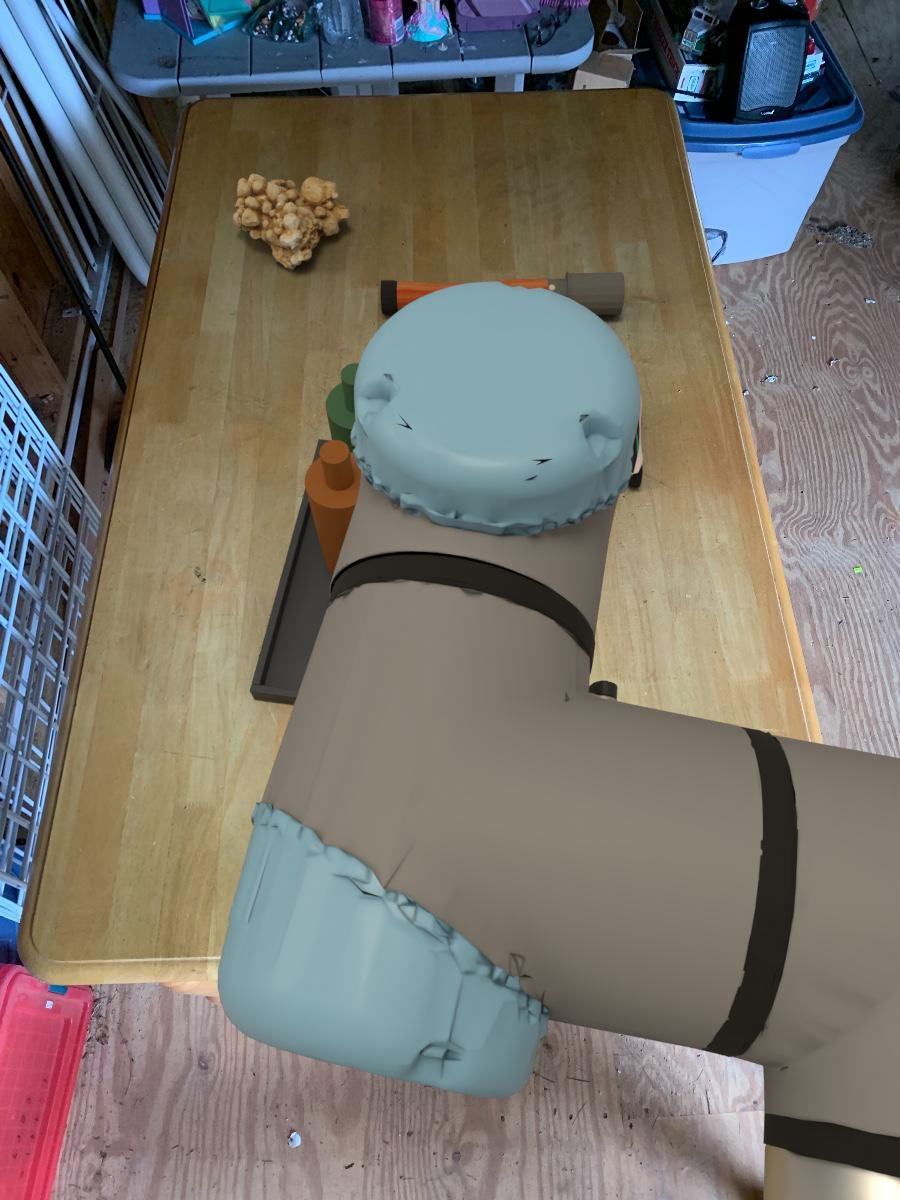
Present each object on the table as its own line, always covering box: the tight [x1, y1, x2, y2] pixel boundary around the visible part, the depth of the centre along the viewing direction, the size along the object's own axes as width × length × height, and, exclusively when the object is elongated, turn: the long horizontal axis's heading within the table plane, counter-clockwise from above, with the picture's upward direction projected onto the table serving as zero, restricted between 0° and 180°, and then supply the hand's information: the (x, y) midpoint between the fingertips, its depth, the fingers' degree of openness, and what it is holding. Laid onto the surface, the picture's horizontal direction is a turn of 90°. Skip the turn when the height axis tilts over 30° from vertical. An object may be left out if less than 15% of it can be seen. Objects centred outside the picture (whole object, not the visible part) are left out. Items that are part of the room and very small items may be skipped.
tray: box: [249, 438, 333, 706], centre depth 87 cm, size 31×14×2 cm, turn 172°
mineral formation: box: [232, 173, 351, 271], centre depth 110 cm, size 8×13×15 cm
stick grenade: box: [379, 271, 626, 316], centre depth 104 cm, size 5×5×30 cm
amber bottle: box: [304, 439, 361, 576], centre depth 80 cm, size 6×6×18 cm
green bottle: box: [325, 362, 359, 453], centre depth 84 cm, size 6×6×18 cm
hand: (468, 785), depth 54 cm, fingers closed on sauce bottle, 6 cm apart
